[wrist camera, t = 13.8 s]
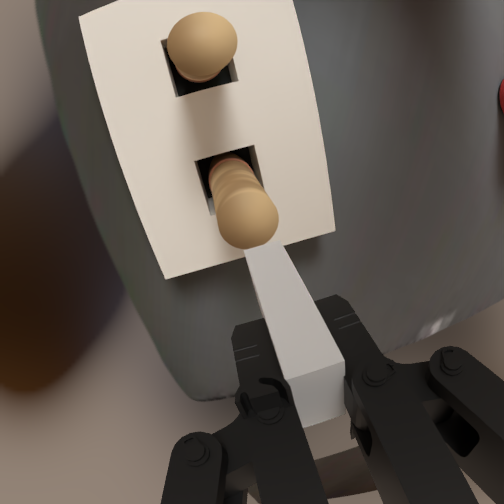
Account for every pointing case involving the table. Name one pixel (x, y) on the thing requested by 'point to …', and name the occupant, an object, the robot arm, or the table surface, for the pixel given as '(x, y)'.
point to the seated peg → (201, 45)
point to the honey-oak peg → (241, 203)
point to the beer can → (501, 95)
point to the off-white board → (209, 123)
